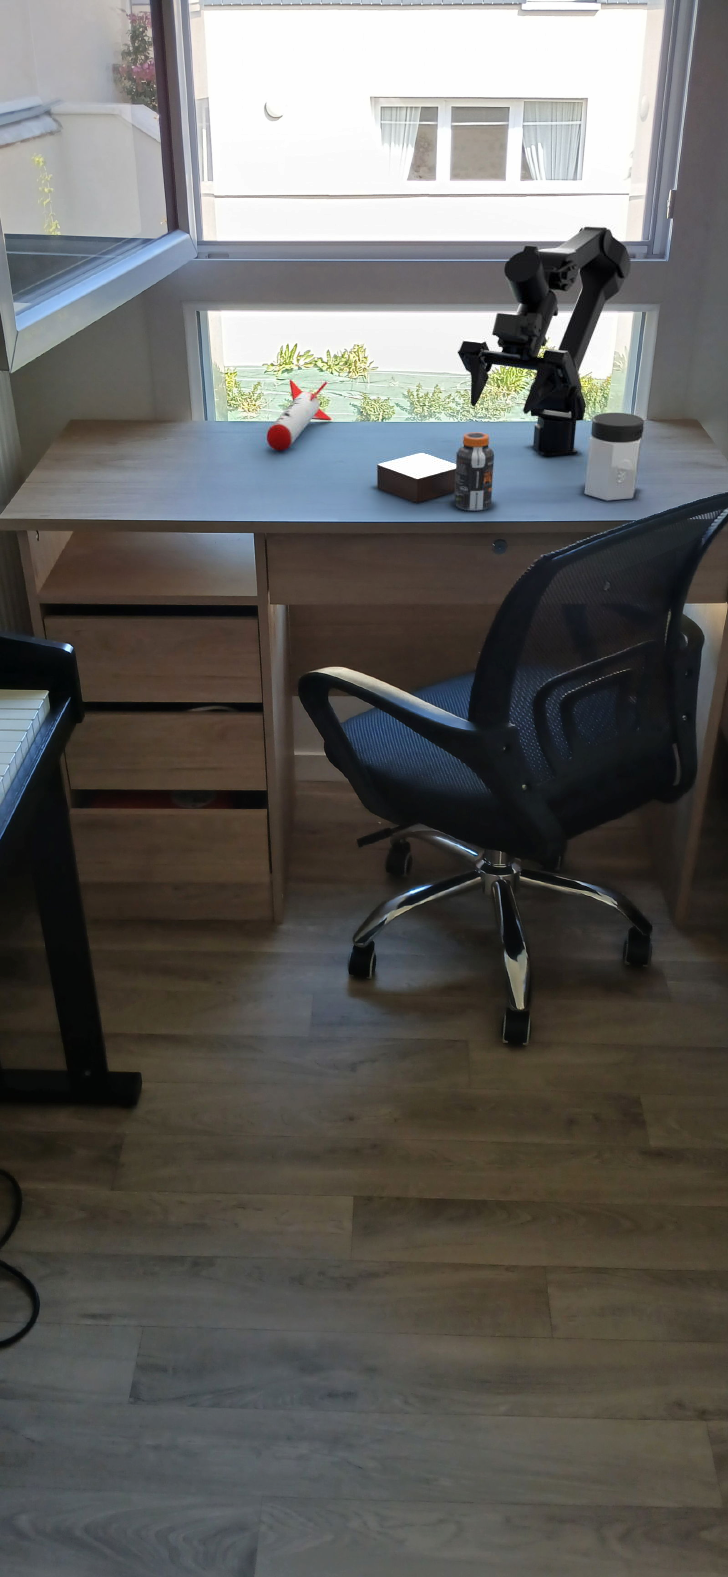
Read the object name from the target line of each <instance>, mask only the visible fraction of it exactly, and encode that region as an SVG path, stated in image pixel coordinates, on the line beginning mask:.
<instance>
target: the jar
mask: <svg viewBox="0 0 728 1577" xmlns="http://www.w3.org/2000/svg"><path fill="white" fill-rule="evenodd" d="M644 424H645V421H644V419H643V418H642V417H640V416H639V415H636V414H632V413H627V412H626V413H625V412H604V413H599V414H596V415H594V417H592V423H591V432H590V434H591V436H590V438H589V446H588V456H587V465H586V466H587V467H586V476H585V486H584V494H585V496H590V497H593V498H596V499H600V500H602V501H606V502H607V501H619V500H630V499H633V498H634V495H635V491H636V488H637V481H638V480H637V479H638V473H639V463H640V456H641V449H642V441H643V440H642V439H643V433H644V427H645V426H644Z"/></svg>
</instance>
